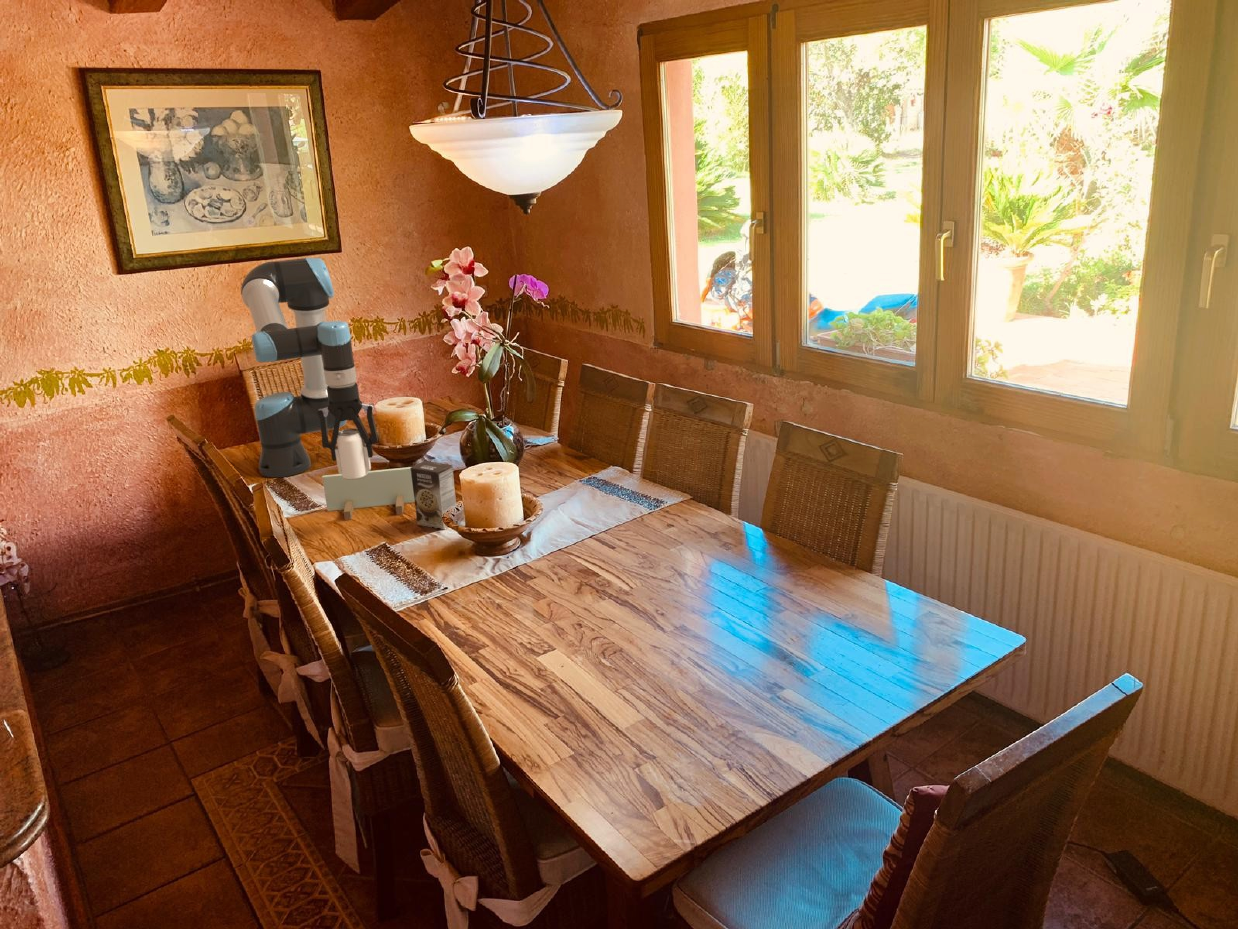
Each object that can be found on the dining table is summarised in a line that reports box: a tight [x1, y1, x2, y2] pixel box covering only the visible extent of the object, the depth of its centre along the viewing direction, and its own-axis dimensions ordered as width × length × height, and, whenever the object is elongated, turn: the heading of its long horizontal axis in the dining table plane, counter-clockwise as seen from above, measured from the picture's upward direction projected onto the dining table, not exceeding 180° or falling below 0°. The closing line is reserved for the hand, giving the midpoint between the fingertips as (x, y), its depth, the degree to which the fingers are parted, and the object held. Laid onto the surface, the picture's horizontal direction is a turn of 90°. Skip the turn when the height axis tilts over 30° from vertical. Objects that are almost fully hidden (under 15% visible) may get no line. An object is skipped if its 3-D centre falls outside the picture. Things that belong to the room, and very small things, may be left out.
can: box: [336, 427, 368, 480], centre depth 236 cm, size 6×6×12 cm
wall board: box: [321, 466, 415, 521], centre depth 250 cm, size 9×26×10 cm, turn 100°
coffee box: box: [410, 460, 457, 530], centre depth 239 cm, size 9×6×16 cm
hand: (354, 470), depth 238 cm, fingers closed on can, 6 cm apart
